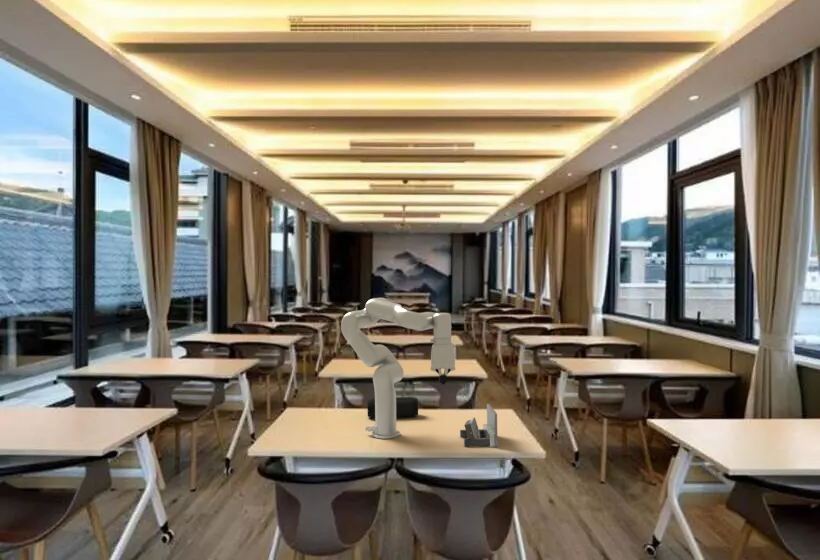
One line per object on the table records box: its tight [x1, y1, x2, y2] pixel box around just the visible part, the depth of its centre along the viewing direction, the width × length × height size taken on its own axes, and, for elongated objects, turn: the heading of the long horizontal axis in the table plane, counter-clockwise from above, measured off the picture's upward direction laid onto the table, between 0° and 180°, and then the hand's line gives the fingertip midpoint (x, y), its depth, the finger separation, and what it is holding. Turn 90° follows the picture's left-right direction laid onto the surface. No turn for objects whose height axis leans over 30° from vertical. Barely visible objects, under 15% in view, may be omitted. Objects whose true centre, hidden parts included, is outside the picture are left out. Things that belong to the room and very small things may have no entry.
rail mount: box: [459, 403, 498, 448], centre depth 244 cm, size 14×19×14 cm
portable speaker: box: [366, 396, 419, 419], centre depth 288 cm, size 26×10×10 cm, turn 94°
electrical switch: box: [464, 416, 482, 439], centre depth 246 cm, size 9×5×9 cm, turn 165°
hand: (443, 384), depth 244 cm, fingers closed
